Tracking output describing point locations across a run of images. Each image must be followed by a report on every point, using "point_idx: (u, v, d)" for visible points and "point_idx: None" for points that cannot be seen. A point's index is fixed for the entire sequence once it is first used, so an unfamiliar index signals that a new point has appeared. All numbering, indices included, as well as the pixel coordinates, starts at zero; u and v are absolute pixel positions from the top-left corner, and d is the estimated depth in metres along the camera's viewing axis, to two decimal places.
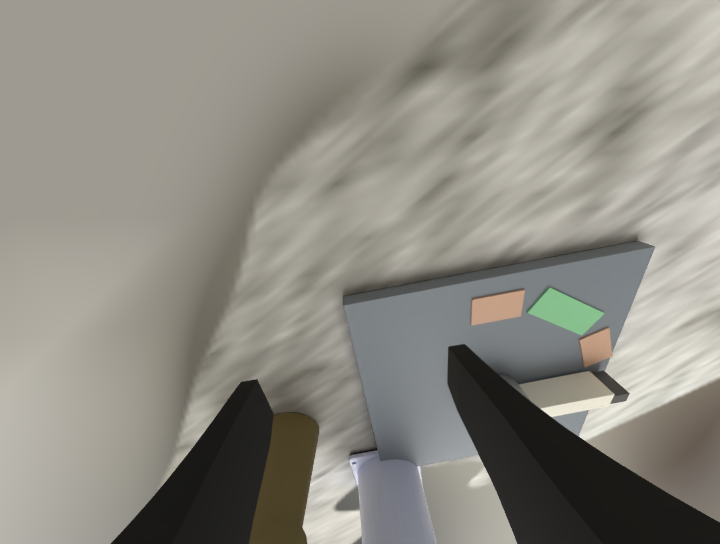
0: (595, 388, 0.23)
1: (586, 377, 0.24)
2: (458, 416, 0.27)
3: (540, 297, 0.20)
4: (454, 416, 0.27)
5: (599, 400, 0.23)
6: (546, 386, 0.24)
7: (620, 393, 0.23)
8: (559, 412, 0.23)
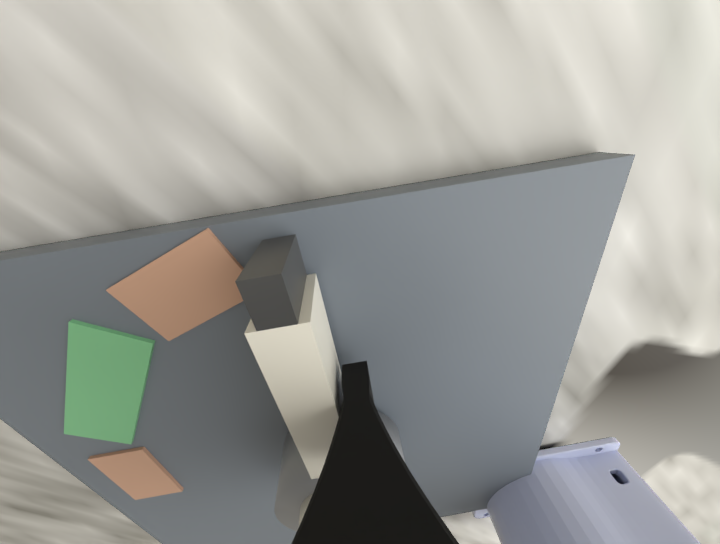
0: None
1: None
2: None
3: (92, 436, 0.11)
4: None
5: (279, 363, 0.07)
6: None
7: (247, 301, 0.06)
8: (329, 435, 0.08)
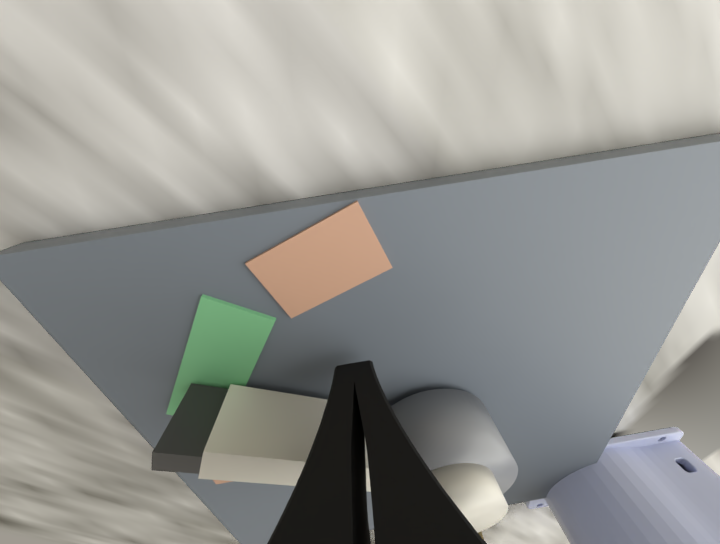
0: None
1: None
2: None
3: None
4: None
5: (236, 473, 0.09)
6: None
7: (176, 465, 0.09)
8: None
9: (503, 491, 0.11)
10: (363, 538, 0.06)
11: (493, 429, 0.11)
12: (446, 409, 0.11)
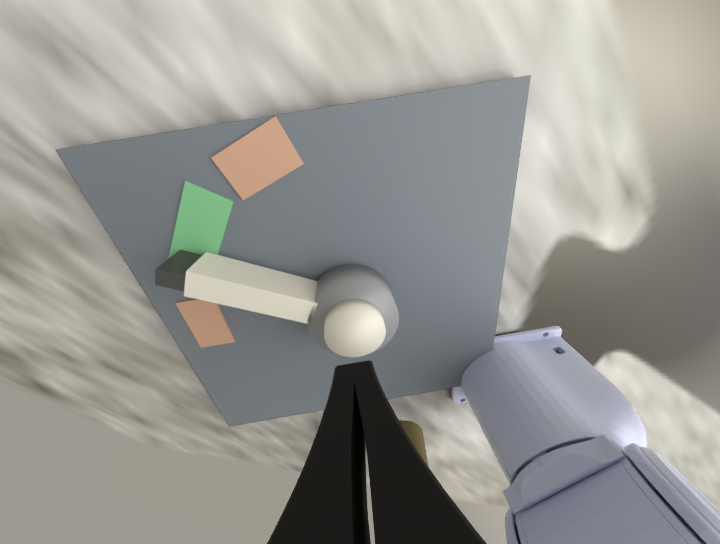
0: None
1: None
2: None
3: None
4: None
5: (207, 293, 0.14)
6: None
7: (170, 286, 0.14)
8: (273, 299, 0.15)
9: (393, 332, 0.17)
10: (363, 538, 0.06)
11: (382, 284, 0.16)
12: (351, 271, 0.16)
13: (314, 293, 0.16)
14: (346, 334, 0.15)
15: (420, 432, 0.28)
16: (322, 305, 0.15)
